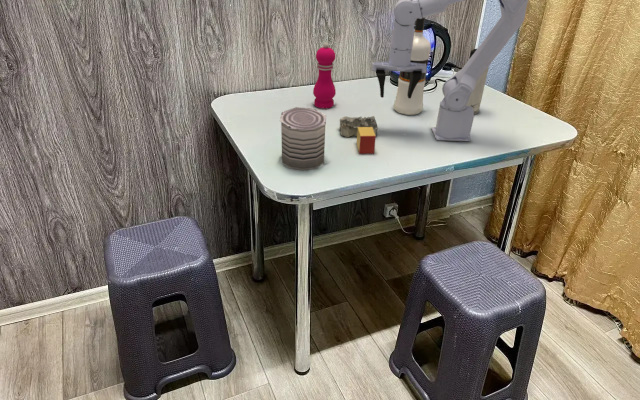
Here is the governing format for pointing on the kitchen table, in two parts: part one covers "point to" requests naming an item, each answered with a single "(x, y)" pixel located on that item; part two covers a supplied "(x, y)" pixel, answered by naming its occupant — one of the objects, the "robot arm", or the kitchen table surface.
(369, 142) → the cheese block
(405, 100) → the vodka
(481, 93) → the travel mug
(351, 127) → the egg carton
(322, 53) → the pepper mill
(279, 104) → the kitchen table surface
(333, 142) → the kitchen table surface
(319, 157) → the can
